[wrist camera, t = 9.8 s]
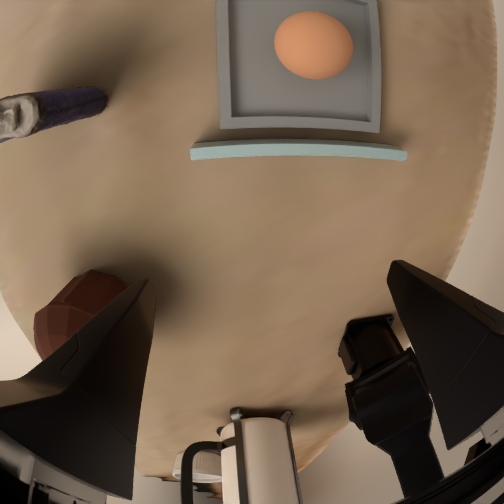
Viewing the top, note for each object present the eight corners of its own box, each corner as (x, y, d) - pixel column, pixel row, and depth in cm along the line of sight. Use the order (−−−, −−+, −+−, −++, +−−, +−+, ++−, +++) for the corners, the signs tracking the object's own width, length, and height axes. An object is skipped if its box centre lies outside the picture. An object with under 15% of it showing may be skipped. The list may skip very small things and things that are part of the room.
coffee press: (278, 392, 37) (309, 575, 12) (302, 423, 45) (328, 555, 20) (180, 413, 39) (179, 571, 14) (223, 440, 48) (231, 563, 22)
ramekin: (162, 450, 52) (161, 473, 46) (204, 446, 50) (205, 472, 44) (194, 462, 59) (194, 483, 53) (234, 457, 56) (236, 480, 50)
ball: (333, 26, 14) (364, 10, 10) (335, 84, 17) (368, 82, 13) (267, 19, 14) (281, -4, 10) (268, 80, 16) (285, 73, 12)
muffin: (140, 256, 23) (105, 340, 15) (166, 339, 29) (154, 416, 21) (45, 263, 23) (-2, 329, 14) (81, 336, 29) (57, 401, 20)
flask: (25, 134, 16) (-61, 173, 7) (24, 104, 14) (-65, 129, 5) (109, 115, 17) (21, 139, 8) (109, 79, 15) (19, 76, 6)
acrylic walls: (387, -8, 12) (403, -15, 10) (390, 153, 20) (406, 161, 18) (189, -28, 11) (185, -42, 9) (195, 153, 19) (190, 160, 17)
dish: (369, 1, 13) (376, -3, 12) (372, 131, 19) (379, 133, 18) (216, -15, 12) (215, -20, 11) (220, 127, 18) (220, 129, 17)
